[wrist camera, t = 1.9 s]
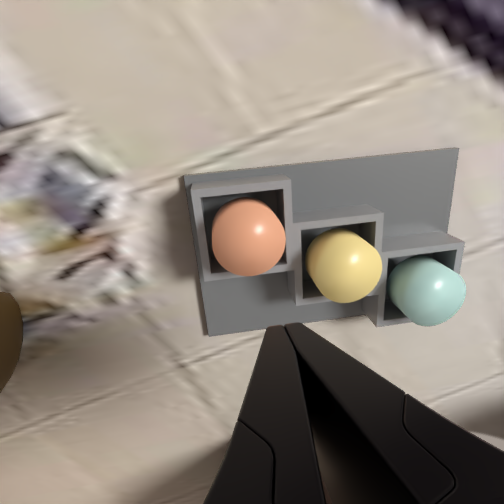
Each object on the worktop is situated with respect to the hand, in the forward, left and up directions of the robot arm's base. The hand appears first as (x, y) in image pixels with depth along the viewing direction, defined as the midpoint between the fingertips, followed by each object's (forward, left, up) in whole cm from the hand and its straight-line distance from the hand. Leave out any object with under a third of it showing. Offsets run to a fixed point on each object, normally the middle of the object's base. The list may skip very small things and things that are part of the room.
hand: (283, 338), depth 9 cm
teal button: (-10, +4, -9) cm, 14 cm away
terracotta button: (0, 0, -9) cm, 9 cm away
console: (-5, +2, -11) cm, 12 cm away
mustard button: (-5, +2, -9) cm, 11 cm away
